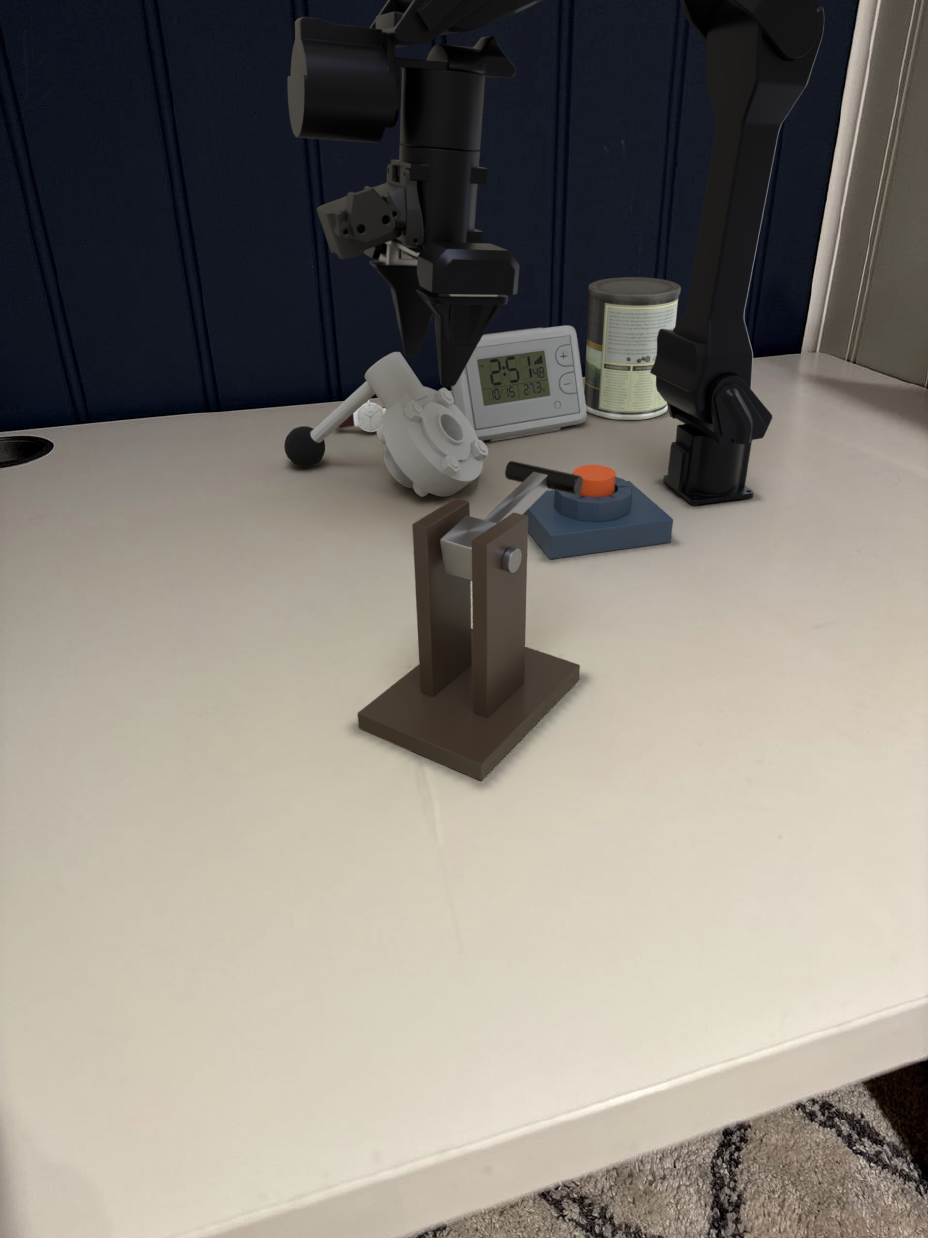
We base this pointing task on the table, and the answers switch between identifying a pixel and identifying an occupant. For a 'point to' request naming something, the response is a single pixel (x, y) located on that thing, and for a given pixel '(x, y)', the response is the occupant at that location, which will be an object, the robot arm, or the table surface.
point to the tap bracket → (470, 653)
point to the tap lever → (502, 512)
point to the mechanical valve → (405, 431)
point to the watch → (366, 417)
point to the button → (596, 480)
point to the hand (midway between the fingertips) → (428, 370)
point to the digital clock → (522, 383)
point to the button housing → (597, 522)
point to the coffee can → (626, 345)
